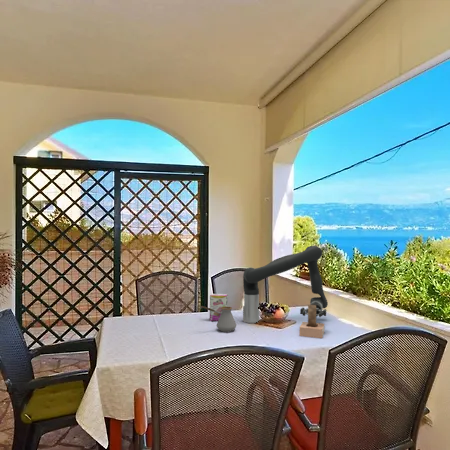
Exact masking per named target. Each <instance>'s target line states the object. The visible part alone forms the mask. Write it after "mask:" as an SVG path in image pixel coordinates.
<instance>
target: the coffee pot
mask: <svg viewBox="0 0 450 450" xmlns="http://www.w3.org/2000/svg"><path fill="white" fill-rule="evenodd" d="M201 309H205V310H207V311H209V312H210V311H213V312H217V313H219V314H221V315H220V318H219V320H218V321H217V323H216V328H217V329H218V330H219V331H220V332H223V333H230V332H234V330H235V329H236V328H237V323H236V320H235V318H234V316H233V313H232V309H233V307H231V306H228V307H221V309H222V313H221V312H218V311H215V310H213V309H210V307H208V306H207V307H206V306H205V305H204V306H203V305H200V307H199V310H201Z"/></svg>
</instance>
